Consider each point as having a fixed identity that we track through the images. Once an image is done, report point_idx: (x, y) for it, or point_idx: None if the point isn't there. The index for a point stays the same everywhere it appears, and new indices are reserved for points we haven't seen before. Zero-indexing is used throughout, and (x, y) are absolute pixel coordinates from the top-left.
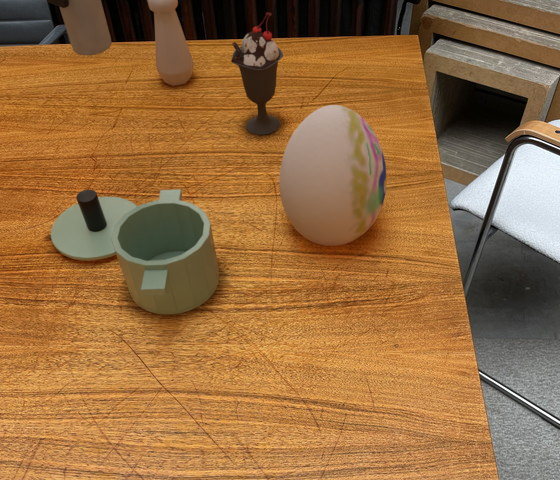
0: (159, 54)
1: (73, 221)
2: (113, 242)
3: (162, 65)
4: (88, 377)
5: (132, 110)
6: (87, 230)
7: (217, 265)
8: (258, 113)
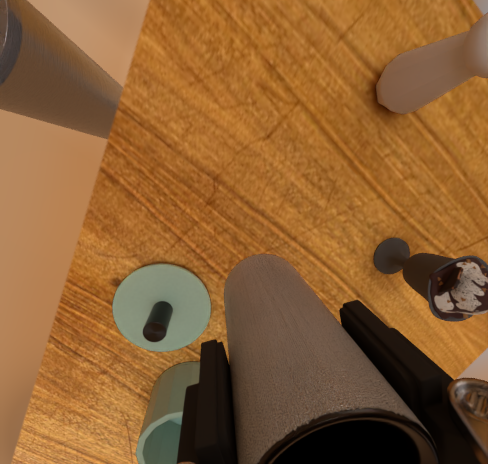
0: (401, 79)
1: (143, 290)
2: (139, 443)
3: (389, 89)
4: (87, 441)
5: (305, 117)
6: (150, 311)
7: None
8: (397, 260)
